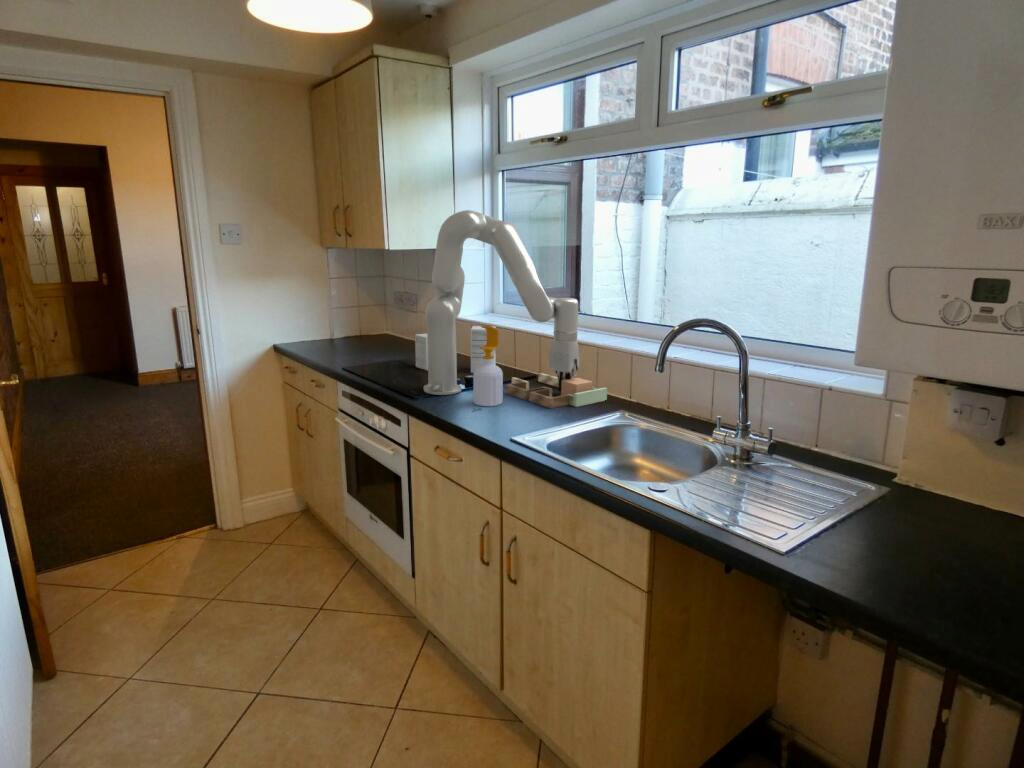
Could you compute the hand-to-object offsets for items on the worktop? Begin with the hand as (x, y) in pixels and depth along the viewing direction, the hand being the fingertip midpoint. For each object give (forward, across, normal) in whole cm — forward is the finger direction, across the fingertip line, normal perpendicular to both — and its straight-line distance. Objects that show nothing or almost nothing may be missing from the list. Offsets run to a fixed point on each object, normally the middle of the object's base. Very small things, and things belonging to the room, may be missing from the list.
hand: (563, 391), depth 207 cm
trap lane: (+1, -4, -4) cm, 5 cm away
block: (+1, +6, 0) cm, 6 cm away
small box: (+2, -62, -15) cm, 64 cm away
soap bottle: (+2, -6, -26) cm, 27 cm away
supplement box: (+2, -45, 0) cm, 45 cm away
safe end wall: (+1, +13, 0) cm, 13 cm away
